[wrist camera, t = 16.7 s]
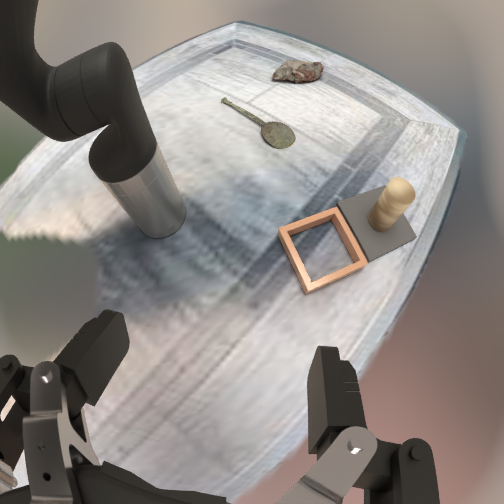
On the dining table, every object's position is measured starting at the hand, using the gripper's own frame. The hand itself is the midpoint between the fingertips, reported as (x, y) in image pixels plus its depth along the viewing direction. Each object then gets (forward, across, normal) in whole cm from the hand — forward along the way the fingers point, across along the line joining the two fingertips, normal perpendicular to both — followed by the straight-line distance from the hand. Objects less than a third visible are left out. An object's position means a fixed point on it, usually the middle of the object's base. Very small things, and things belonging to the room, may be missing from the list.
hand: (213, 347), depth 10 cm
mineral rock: (+70, -4, -26) cm, 75 cm away
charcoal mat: (+39, -21, +4) cm, 44 cm away
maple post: (+38, -21, +4) cm, 44 cm away
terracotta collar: (+34, -10, +10) cm, 37 cm away
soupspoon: (+55, +5, -11) cm, 56 cm away
